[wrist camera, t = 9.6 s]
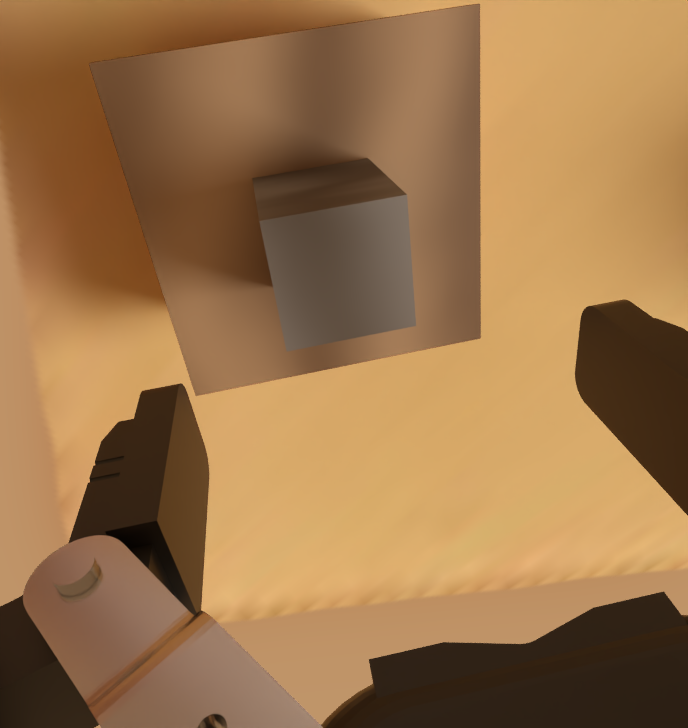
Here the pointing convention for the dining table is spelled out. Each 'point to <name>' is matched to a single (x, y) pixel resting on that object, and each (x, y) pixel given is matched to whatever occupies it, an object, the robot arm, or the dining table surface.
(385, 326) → the lid
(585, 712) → the robot arm
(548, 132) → the dining table surface
